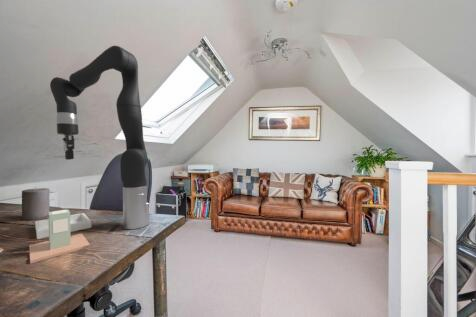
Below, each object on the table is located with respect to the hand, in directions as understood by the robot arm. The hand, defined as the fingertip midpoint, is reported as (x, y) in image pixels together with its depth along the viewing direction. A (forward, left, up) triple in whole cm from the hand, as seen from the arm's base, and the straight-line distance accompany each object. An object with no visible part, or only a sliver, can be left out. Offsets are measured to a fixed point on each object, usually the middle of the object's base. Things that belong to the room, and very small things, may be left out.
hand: (69, 159), depth 92 cm
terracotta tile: (+7, +31, -29) cm, 42 cm away
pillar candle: (+11, -19, -29) cm, 36 cm away
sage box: (+7, +30, -28) cm, 42 cm away
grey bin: (+4, +11, -29) cm, 31 cm away
